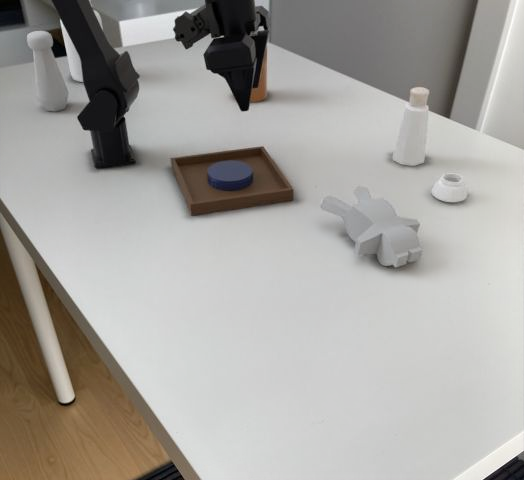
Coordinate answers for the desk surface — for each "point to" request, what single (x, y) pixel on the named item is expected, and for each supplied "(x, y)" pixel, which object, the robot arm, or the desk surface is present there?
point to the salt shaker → (47, 72)
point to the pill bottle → (75, 52)
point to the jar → (261, 84)
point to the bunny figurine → (377, 228)
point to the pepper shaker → (413, 130)
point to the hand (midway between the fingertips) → (250, 98)
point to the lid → (230, 175)
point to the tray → (213, 200)
